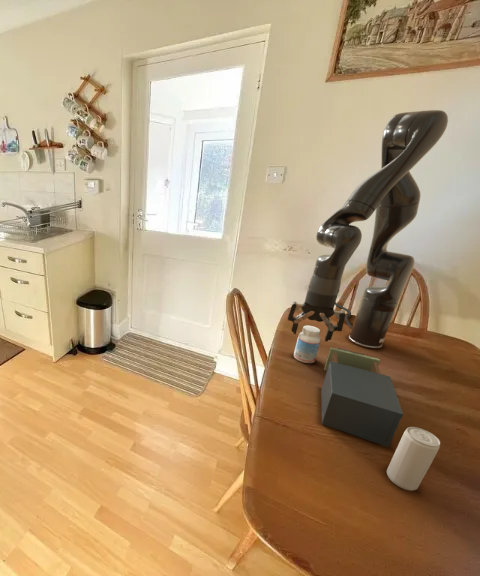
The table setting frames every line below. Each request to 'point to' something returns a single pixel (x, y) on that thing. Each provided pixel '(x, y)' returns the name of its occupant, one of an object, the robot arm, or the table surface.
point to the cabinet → (360, 403)
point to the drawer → (353, 360)
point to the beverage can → (413, 458)
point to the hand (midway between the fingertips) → (309, 336)
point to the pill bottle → (307, 344)
